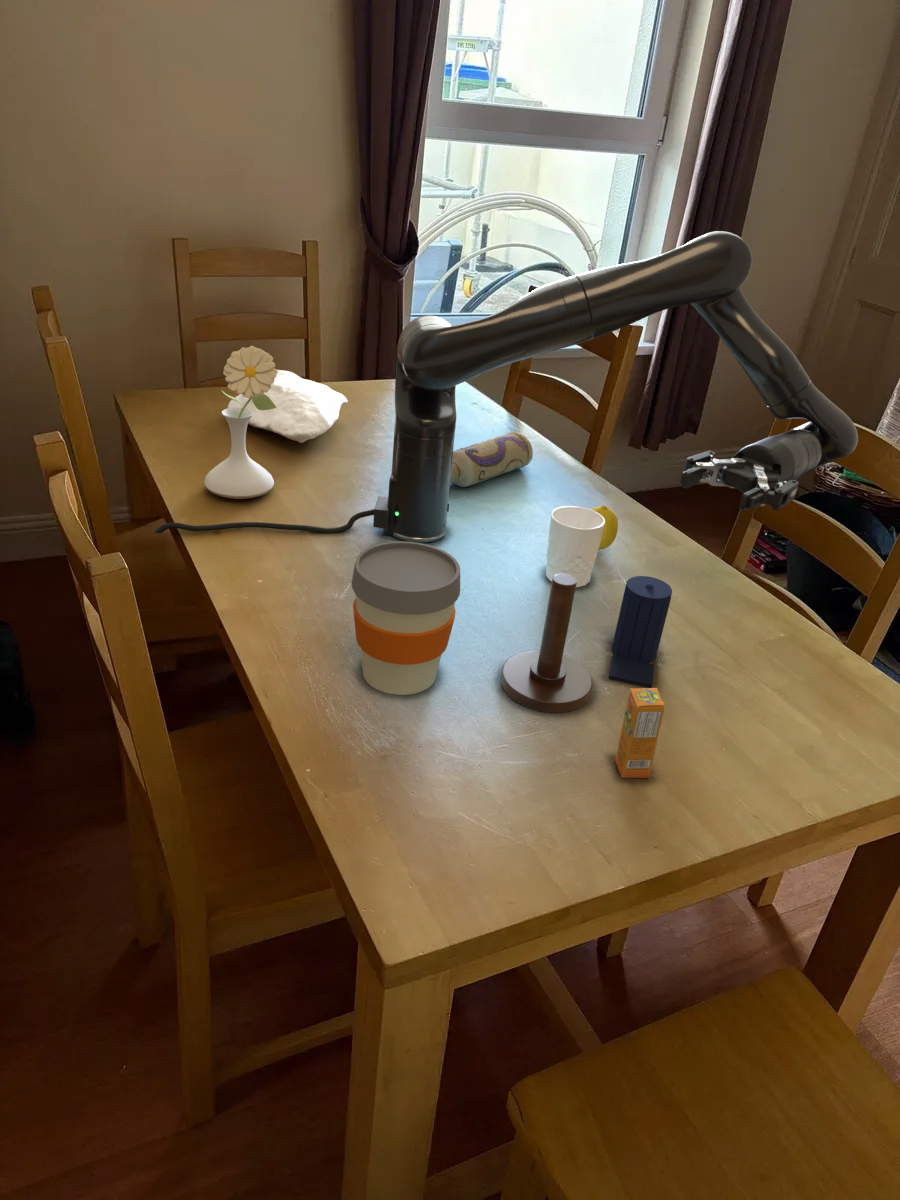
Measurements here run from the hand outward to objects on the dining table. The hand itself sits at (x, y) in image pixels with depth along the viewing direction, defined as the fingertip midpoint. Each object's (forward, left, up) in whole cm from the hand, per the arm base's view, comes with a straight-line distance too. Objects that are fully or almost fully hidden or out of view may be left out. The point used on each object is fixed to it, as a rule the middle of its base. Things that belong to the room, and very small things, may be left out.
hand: (713, 491), depth 115 cm
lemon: (-10, +20, -21) cm, 31 cm away
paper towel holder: (-19, -19, -20) cm, 34 cm away
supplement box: (-10, -33, -21) cm, 40 cm away
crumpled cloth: (-68, +61, -21) cm, 94 cm away
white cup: (-15, +10, -21) cm, 28 cm away
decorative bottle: (-31, +45, -21) cm, 59 cm away
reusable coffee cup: (-37, -20, -21) cm, 47 cm away
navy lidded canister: (-8, -11, -20) cm, 24 cm away
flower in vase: (-69, +27, -21) cm, 77 cm away
